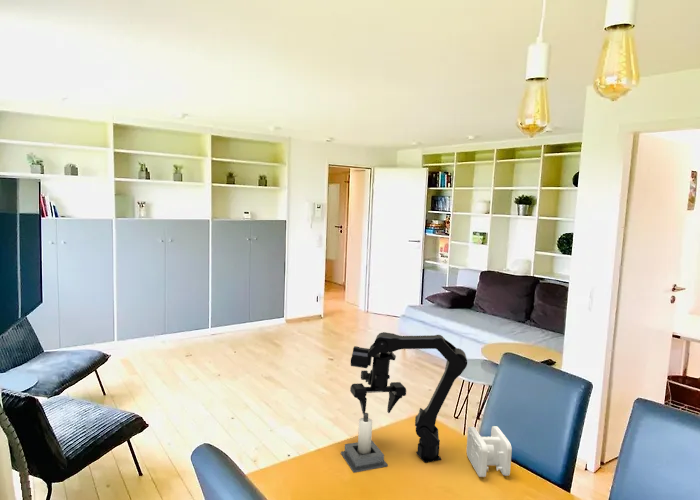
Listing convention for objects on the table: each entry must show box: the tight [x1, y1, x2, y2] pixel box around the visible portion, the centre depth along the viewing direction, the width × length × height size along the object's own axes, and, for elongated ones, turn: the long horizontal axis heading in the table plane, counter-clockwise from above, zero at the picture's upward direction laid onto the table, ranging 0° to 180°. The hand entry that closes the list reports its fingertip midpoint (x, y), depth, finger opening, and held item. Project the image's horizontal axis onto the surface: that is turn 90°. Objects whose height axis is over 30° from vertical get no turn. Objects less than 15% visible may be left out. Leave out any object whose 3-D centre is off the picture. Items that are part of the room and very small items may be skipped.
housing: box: [340, 439, 389, 474], centre depth 155 cm, size 12×12×4 cm
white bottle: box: [357, 412, 373, 456], centre depth 154 cm, size 5×5×15 cm
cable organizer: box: [466, 425, 513, 478], centre depth 152 cm, size 15×11×12 cm
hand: (376, 413), depth 160 cm, fingers open, 9 cm apart
